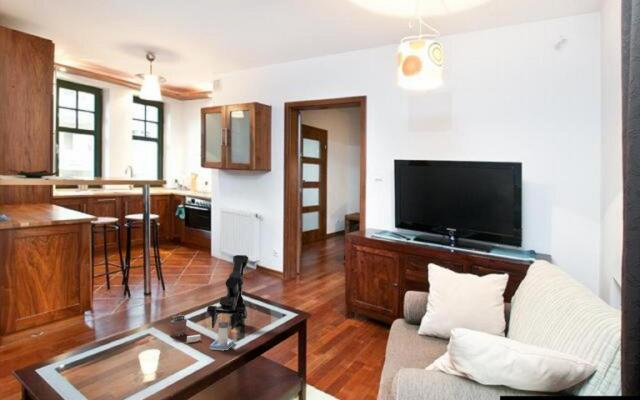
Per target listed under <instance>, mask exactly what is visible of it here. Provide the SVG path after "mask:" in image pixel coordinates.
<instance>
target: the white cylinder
mask: <svg viewBox="0 0 640 400" xmlns="http://www.w3.org/2000/svg"><path fill="white" fill-rule="evenodd" d="M217 327H218V332H217V338H218V345H221V346H227V345H228V342H229V341H228V340H229V339H228V338H229V322H228V321H222V322H218V326H217Z"/></svg>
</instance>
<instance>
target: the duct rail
mask: <svg viewBox="0 0 640 400" xmlns="http://www.w3.org/2000/svg"><path fill="white" fill-rule="evenodd" d="M201 336H202V335H201V334H194V335H188V336H186V343H194V342H200V341H201ZM199 340H200V341H199Z"/></svg>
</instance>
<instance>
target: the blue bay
mask: <svg viewBox="0 0 640 400" xmlns="http://www.w3.org/2000/svg"><path fill="white" fill-rule="evenodd" d="M234 342H235V339H231V341H228V345H227V346H221V345H218V337H217V338H216V339H215V340H214V341H213V342H212V343H210V345H209V350H213V351H214V350H215V351H224V350H228V349H229V348H230V347H231V348H232V346H233V345H234V344H235V343H234ZM233 343H234V344H233ZM231 348H230V349H231ZM230 349H229V350H230ZM229 350H228V351H229Z"/></svg>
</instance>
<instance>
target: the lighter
mask: <svg viewBox="0 0 640 400" xmlns="http://www.w3.org/2000/svg"><path fill="white" fill-rule="evenodd" d="M185 317H186V315H185V314H178V315H173V316H172V317H171V319H172V320H170V332H169V333H170V334H169V338H176V337H175V336H178V337H180V336H179V335H182V334H185V333H186V334H187V322H188V318H185ZM186 334H185V335H186ZM182 336H183V335H182Z"/></svg>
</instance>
